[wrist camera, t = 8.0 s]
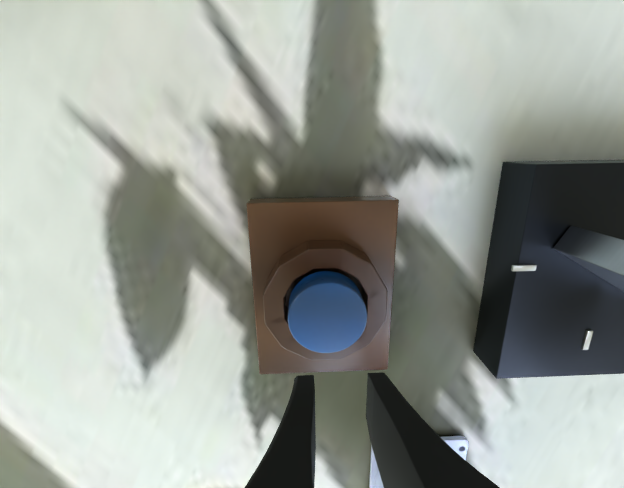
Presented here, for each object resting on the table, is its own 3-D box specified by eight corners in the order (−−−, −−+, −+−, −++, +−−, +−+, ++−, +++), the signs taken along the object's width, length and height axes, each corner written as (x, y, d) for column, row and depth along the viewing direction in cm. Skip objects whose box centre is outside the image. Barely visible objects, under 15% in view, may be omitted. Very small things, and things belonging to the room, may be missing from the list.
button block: (381, 354, 24) (395, 388, 20) (262, 359, 24) (255, 393, 20) (391, 195, 20) (409, 205, 17) (250, 198, 20) (240, 208, 17)
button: (360, 334, 20) (366, 352, 18) (290, 337, 20) (289, 355, 18) (362, 269, 18) (369, 281, 17) (287, 271, 18) (286, 283, 17)
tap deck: (617, 345, 24) (661, 374, 21) (468, 351, 24) (492, 380, 21) (675, 158, 20) (741, 160, 17) (496, 161, 20) (532, 164, 17)
